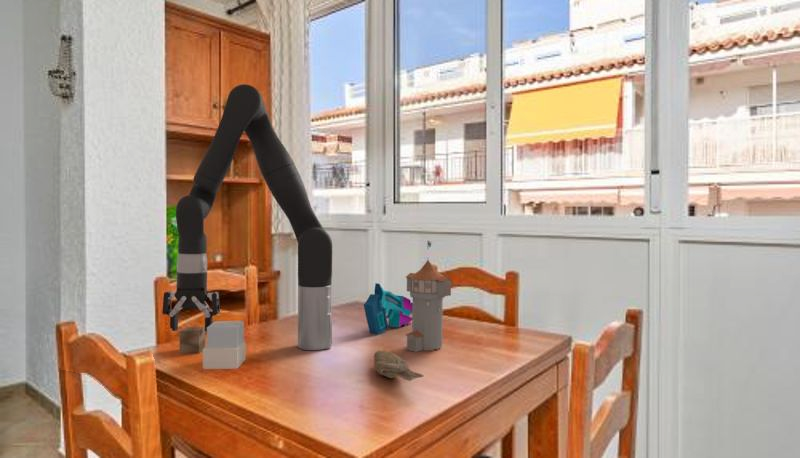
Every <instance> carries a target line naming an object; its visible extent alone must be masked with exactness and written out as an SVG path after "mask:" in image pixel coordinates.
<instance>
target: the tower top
mask: <svg viewBox="0 0 800 458" xmlns="http://www.w3.org/2000/svg"><path fill="white" fill-rule="evenodd" d="M244 325H245V323H244V320H227V321H226V320H224V321H223V320H219V321H218V320H216V321H214V322H212V324H211V325H210V326H208V327H207V331H206V346H207V348H237V347H238V346H239V345H240V344H241V343H242V342H243V341H244V340H245V339H244V338H245V335H244V334H245V332H244V330H245V326H244Z"/></svg>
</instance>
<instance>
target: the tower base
mask: <svg viewBox="0 0 800 458" xmlns="http://www.w3.org/2000/svg"><path fill="white" fill-rule="evenodd" d="M246 351H247V350H246V340H245V339H244V341H243V342H242V343H241V344H240V345H239V346H238V347H237V348H207V345H205V348H203V351H202V370H238V368H239V367H240V366H242V364H243V363H244V361H245V360H246V355H247V354H246Z"/></svg>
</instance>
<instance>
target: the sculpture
mask: <svg viewBox="0 0 800 458" xmlns="http://www.w3.org/2000/svg"><path fill="white" fill-rule="evenodd" d="M373 360H374V370H375V371H376V372H377V373H378V374H379V375H380V376H384V377H387V378H390V379H393V378H396V377H397V376H398V377H399V378H401V379H403V380H405V381H408V382H410V381H413V380H415V379H419V378H423V377H425V375H424V374H421V373H418V372H415V371H412V370H411V369H410V368H409V366H408V364H407V361H406V359H404V358H402V357H401V356H399V355H397V354H396V353H393V352H388V351H386V350H377V351H376V352H375V353H374V355H373Z"/></svg>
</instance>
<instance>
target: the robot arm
mask: <svg viewBox="0 0 800 458" xmlns="http://www.w3.org/2000/svg"><path fill="white" fill-rule="evenodd" d="M228 93H229V94H228V96H227V98H226V102H225V106H224V109H223V112H222V115H221V118H220V121H219V123H218V124H219V125H218V126H217V129H216V132H215V134H214V135H213V139H212V140H211V142H210V145H209V146H208V148H207V150H206V152H205V154H204V155H203V158H202V159H201V161H200V163H199V165H198V168H197V169H196V172H195V173H194V176H193V180H192V182H193V184H192V187H191V190H190V191H189V194H188V195H185V196H183V197H181V198H180V199H179V200H178V201H177V204H176V207H175V221H176V227H177V233H178V234H177V235H178V245H177V246H178V247H177V250H178V251H177V259H176V290H175V291H171V290H168V291H165V292H164V293H163V298H162V310H161V313H162V315H166V316H168V317H169V329H171V331H172V332H176V331H177V330H178V329H179V316H178V314H179V313H180V311H181V310H183V309H185V310H186V309H193V310H194V309H198V310H199V311H200V312H202V313H203V315H204V316H205V317H204V327H205V332H207V327H208V326H210V325H211V324H212V323H213V317H214V316H216V315H218V314H220V313H221V312H220V311H221V309H220V305H221V304H220V292H219V291H215V292H208V290H207V289H208V257H207V256H208V255H207V251H208V250H207V248H208V246H207V245H208V244H207V242H208V241H207V239H208V238H207V235H206V233H205V229H204V228H205V224H204V223H205V222H204V221H205V219H206V218H207V217H208V215H209V214H210V213H211V210H212V208H213V205H214V203H215V199H216V197H217V193H218V191H219V189H220V188H221V185H222V184H223V182H224V180H225V178H226V176H227V173H228V172H229V171H230V167H231V165H232V162H233V159H234V156H235V154H236V150H237V148H238V144H239V142H240V141H241V138H242V136H243V134H244V133H245V135H246V136H247V138H248V140H249V142H250V144H251V146H252V148H253V152H254V156H255V159H256V162H257V165H258V168H259V171H260V172H261V175H262V177H263V179H264V181H265V184H266V185H267V187H268V190H269V191H270V193H271V195H272V197H273V198H274V200H275V201H276V203H277V205H278V206H279V207H280V209H281V210H282V212H283V213H284V214H285V216H286V217H287V219H288V222H289V223H290V226H291V228H292V231H293V233H294V236H295V238H296V242H297V348H298V349H300V350H305V351H321V350H326V349H327V350H328V349H329V350H330V349H331V347H332V344H333V310H332V278H333V242H332V238H331V236H330V234H329V233H328V232H327V231H326V230H325V228H324V227H323V225H322V224H321V222H320V220H319V218H318V217H317V215H316V214H315V212H314V210H313V207H312V205H311V203H310V200H309V197H308V192H307V189H306V187H305V184H304V182H303V179H302V176H301V175H300V173H299V170H298V169H297V167H296V164H295V162H294V160H293V158H292V157H291V155H290V153H289V152H288V150H287V148H286V147H285V146H284V144H283V143H282V141H281V140H280V138H279V137H278V135H277V133H276V132H275V131H276V130H275V129H274V127H273V124H272V122H271V119H270V117H269V114H268V111H267V107H266V104H265V100H264V99H263V97H262V94H261V93H260V92H259V90H258V89H257V88H256V87H254V86H252V85H251V84H250V85H249V84H246V83H245V84H243V83H241V84H238V85H236V86H235V87H233V88H232V89H231V90H230V92H228ZM174 298H175V299H176V301H177V303H176V304H175V306H174V307H173V308H172V300H174ZM208 298H209V300H210V301H211V306H212V307H211V308H210V306H209V304H208V303H207V301H206V300H207V299H208Z"/></svg>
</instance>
